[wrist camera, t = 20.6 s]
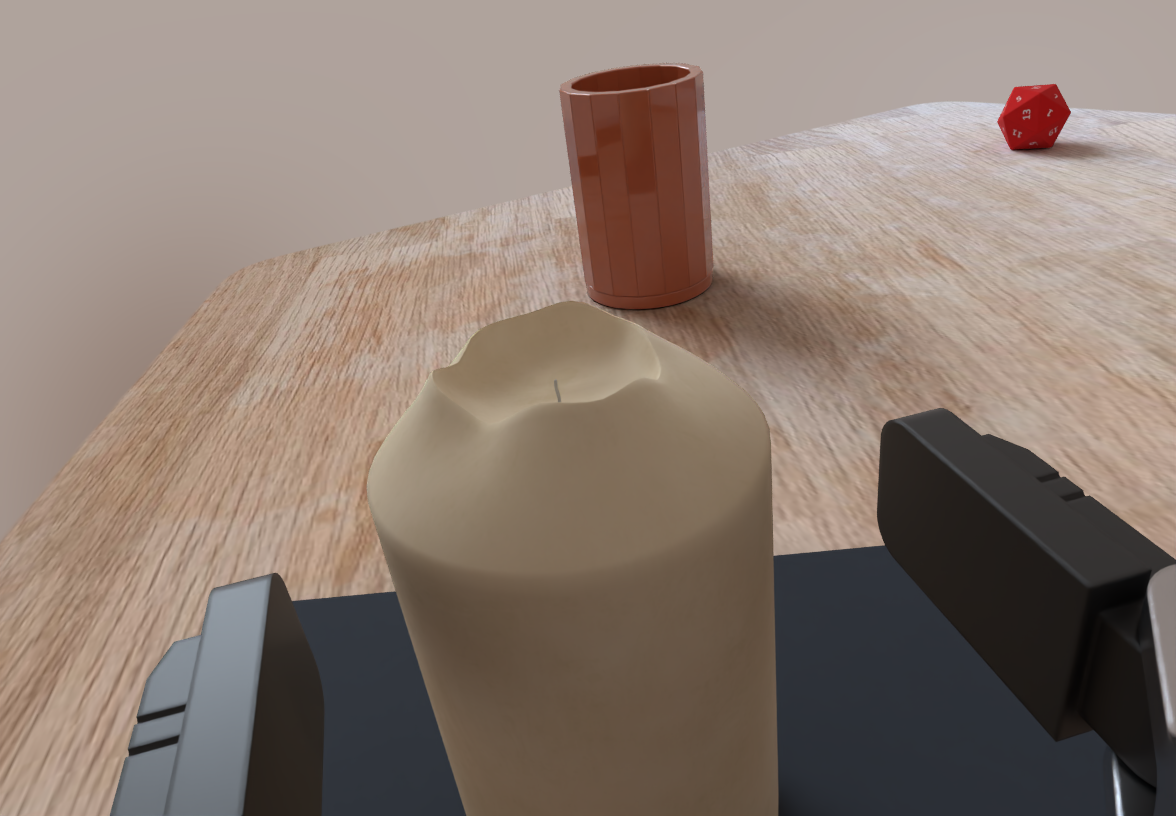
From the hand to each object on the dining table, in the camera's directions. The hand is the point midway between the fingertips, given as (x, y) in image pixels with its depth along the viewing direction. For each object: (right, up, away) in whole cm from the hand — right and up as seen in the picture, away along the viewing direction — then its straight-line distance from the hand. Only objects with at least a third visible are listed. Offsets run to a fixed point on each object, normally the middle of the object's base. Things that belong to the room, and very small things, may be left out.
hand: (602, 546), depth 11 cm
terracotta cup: (+3, +8, +28) cm, 29 cm away
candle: (+1, -6, +5) cm, 8 cm away
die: (+26, +17, +39) cm, 50 cm away
